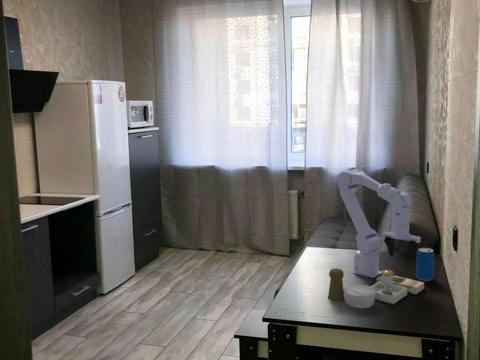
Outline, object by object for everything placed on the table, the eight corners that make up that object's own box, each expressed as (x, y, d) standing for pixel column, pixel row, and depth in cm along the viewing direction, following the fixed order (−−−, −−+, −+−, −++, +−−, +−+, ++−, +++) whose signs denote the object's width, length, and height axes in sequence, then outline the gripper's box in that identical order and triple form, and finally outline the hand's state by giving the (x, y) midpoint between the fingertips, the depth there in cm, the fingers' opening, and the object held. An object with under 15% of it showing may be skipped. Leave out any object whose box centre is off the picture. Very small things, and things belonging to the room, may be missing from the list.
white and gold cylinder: (379, 293, 190) (379, 271, 189) (384, 290, 193) (384, 268, 192) (389, 296, 187) (390, 274, 186) (394, 293, 190) (395, 271, 189)
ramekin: (341, 307, 180) (341, 293, 179) (346, 296, 191) (346, 282, 190) (373, 312, 176) (374, 297, 175) (377, 299, 186) (377, 286, 186)
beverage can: (434, 282, 202) (435, 252, 200) (417, 281, 203) (418, 252, 201) (431, 276, 208) (433, 247, 206) (415, 275, 210) (416, 247, 208)
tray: (365, 296, 189) (365, 289, 189) (379, 287, 198) (379, 281, 197) (393, 304, 182) (393, 297, 182) (407, 294, 190) (407, 287, 190)
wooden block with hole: (376, 284, 201) (376, 278, 201) (384, 279, 206) (384, 273, 206) (416, 294, 190) (416, 287, 190) (423, 288, 196) (424, 282, 195)
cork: (334, 302, 185) (335, 273, 183) (324, 297, 190) (324, 268, 188) (348, 299, 187) (348, 270, 185) (337, 293, 193) (337, 265, 191)
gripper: (379, 223, 200) (378, 256, 203) (415, 228, 191) (414, 263, 193) (387, 219, 206) (387, 252, 208) (423, 224, 196) (422, 259, 198)
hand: (400, 257), depth 201 cm, fingers open, 7 cm apart
